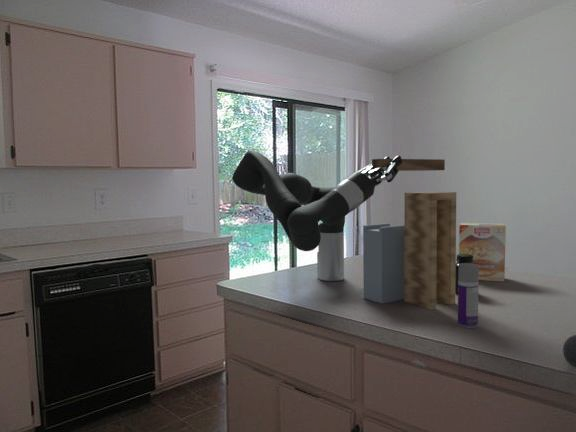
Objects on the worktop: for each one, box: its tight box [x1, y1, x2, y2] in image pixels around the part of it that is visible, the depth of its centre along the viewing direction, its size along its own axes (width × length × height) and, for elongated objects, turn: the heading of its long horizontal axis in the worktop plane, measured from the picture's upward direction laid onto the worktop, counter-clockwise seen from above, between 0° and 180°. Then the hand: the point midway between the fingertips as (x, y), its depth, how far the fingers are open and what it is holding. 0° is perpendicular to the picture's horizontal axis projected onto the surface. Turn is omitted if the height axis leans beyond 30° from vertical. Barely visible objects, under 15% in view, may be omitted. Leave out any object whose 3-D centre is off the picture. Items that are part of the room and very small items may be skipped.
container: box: [457, 263, 480, 329], centre depth 111 cm, size 5×5×15 cm
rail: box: [371, 158, 446, 172], centre depth 124 cm, size 4×24×3 cm, turn 121°
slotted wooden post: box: [403, 191, 457, 310], centre depth 131 cm, size 10×10×32 cm
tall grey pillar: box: [362, 222, 405, 305], centre depth 137 cm, size 8×10×22 cm
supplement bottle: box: [455, 253, 473, 295], centre depth 141 cm, size 7×7×12 cm
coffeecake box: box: [458, 222, 507, 282], centre depth 161 cm, size 15×7×20 cm, turn 68°
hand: (394, 159), depth 121 cm, fingers closed on rail, 3 cm apart
